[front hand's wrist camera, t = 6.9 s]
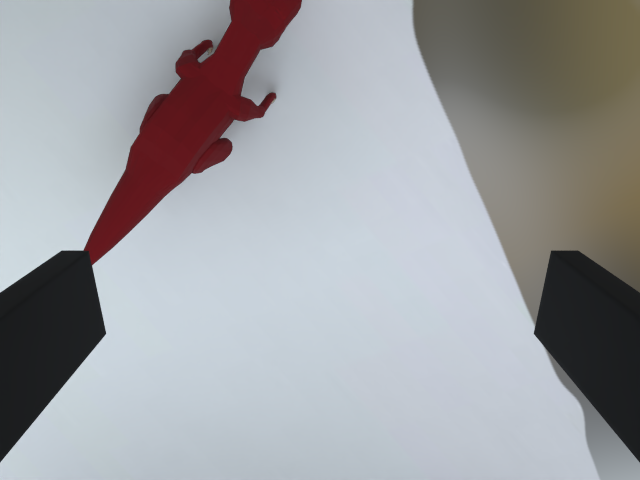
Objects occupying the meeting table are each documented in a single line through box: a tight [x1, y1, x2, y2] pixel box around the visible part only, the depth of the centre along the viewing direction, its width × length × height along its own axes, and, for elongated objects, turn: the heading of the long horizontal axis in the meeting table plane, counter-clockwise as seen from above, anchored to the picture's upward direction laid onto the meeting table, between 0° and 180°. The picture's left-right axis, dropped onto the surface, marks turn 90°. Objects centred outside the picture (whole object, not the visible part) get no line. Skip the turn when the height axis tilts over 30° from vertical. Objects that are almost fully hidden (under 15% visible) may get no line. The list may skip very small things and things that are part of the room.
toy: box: [84, 0, 302, 265], centre depth 30 cm, size 7×25×15 cm
